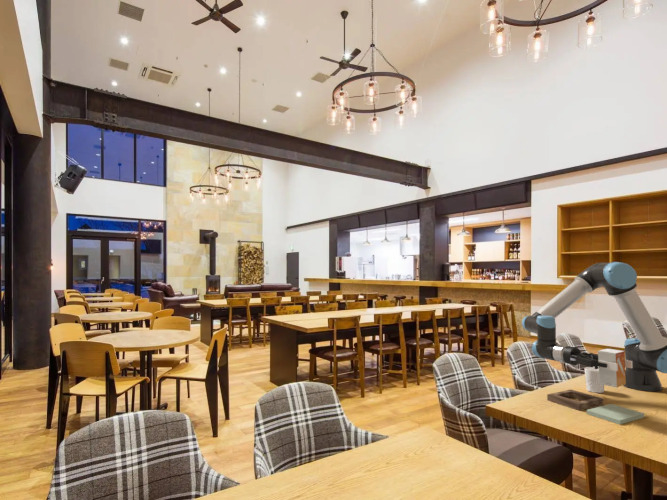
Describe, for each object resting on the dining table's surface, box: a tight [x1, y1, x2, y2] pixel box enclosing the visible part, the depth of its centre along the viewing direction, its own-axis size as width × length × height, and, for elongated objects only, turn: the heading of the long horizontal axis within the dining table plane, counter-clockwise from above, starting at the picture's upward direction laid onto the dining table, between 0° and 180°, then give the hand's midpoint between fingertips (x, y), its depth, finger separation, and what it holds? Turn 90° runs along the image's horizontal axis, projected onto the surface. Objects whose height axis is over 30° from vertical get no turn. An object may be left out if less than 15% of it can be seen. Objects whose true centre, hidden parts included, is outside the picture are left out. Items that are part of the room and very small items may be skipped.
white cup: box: [584, 366, 605, 394], centre depth 183 cm, size 8×8×10 cm
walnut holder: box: [546, 389, 604, 412], centre depth 168 cm, size 16×14×2 cm
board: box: [585, 403, 645, 425], centre depth 152 cm, size 16×12×2 cm
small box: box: [597, 348, 626, 388], centre depth 153 cm, size 8×6×13 cm
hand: (624, 366), depth 149 cm, fingers closed on small box, 9 cm apart
